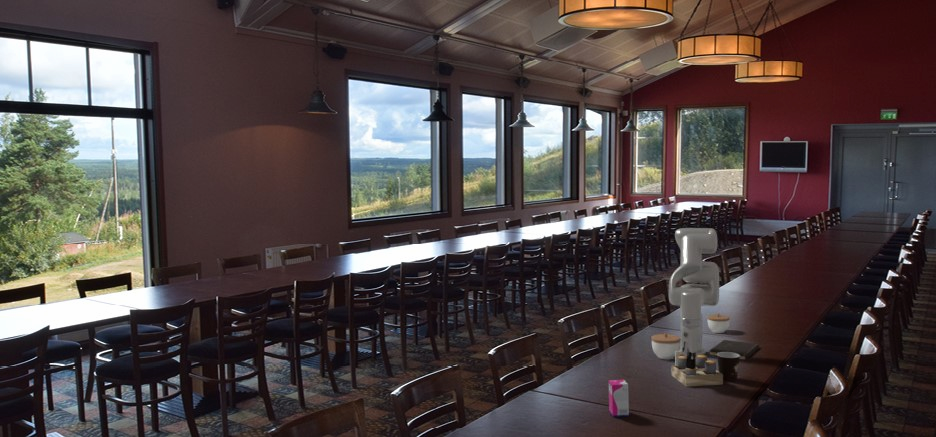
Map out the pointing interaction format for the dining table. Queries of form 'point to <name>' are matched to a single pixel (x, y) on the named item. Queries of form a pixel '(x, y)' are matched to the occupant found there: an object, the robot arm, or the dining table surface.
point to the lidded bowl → (665, 345)
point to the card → (679, 353)
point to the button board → (697, 377)
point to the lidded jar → (718, 323)
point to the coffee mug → (728, 365)
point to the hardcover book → (735, 348)
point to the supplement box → (618, 398)
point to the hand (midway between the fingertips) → (690, 368)
